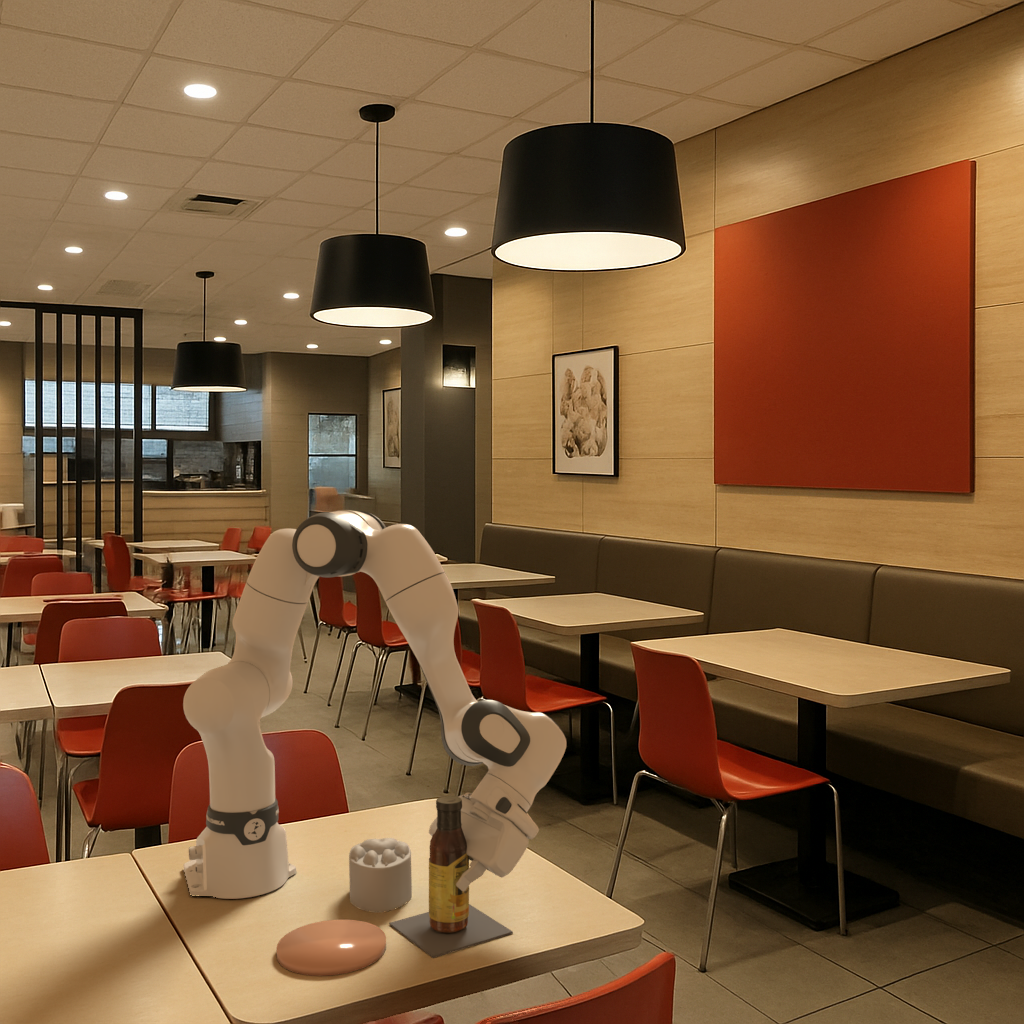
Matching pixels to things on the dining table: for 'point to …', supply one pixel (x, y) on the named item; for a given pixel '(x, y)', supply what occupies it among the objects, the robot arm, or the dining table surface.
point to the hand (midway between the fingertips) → (445, 880)
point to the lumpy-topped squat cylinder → (380, 874)
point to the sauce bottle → (448, 868)
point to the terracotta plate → (331, 947)
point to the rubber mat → (444, 943)
